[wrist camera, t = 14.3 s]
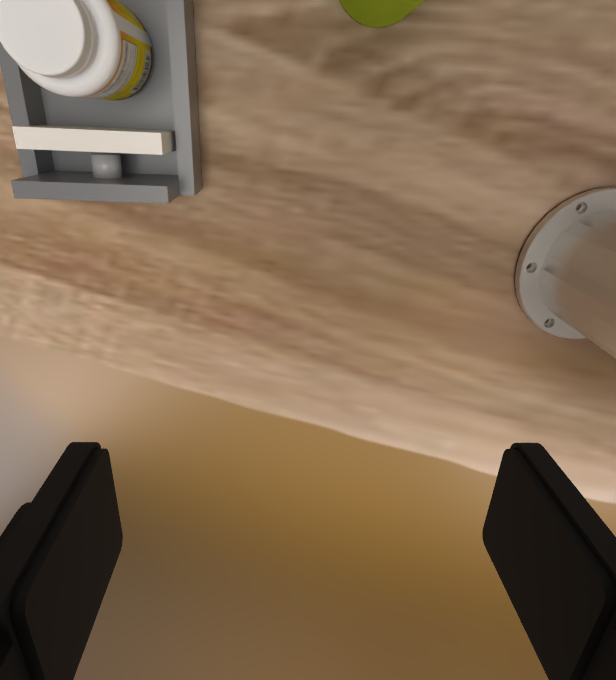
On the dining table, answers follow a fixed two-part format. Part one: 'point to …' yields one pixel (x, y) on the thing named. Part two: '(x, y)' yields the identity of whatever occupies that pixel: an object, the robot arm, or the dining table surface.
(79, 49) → the supplement bottle
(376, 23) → the soap dispenser
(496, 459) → the dining table surface
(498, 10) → the dining table surface
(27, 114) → the pusher lane
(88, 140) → the pusher paddle
